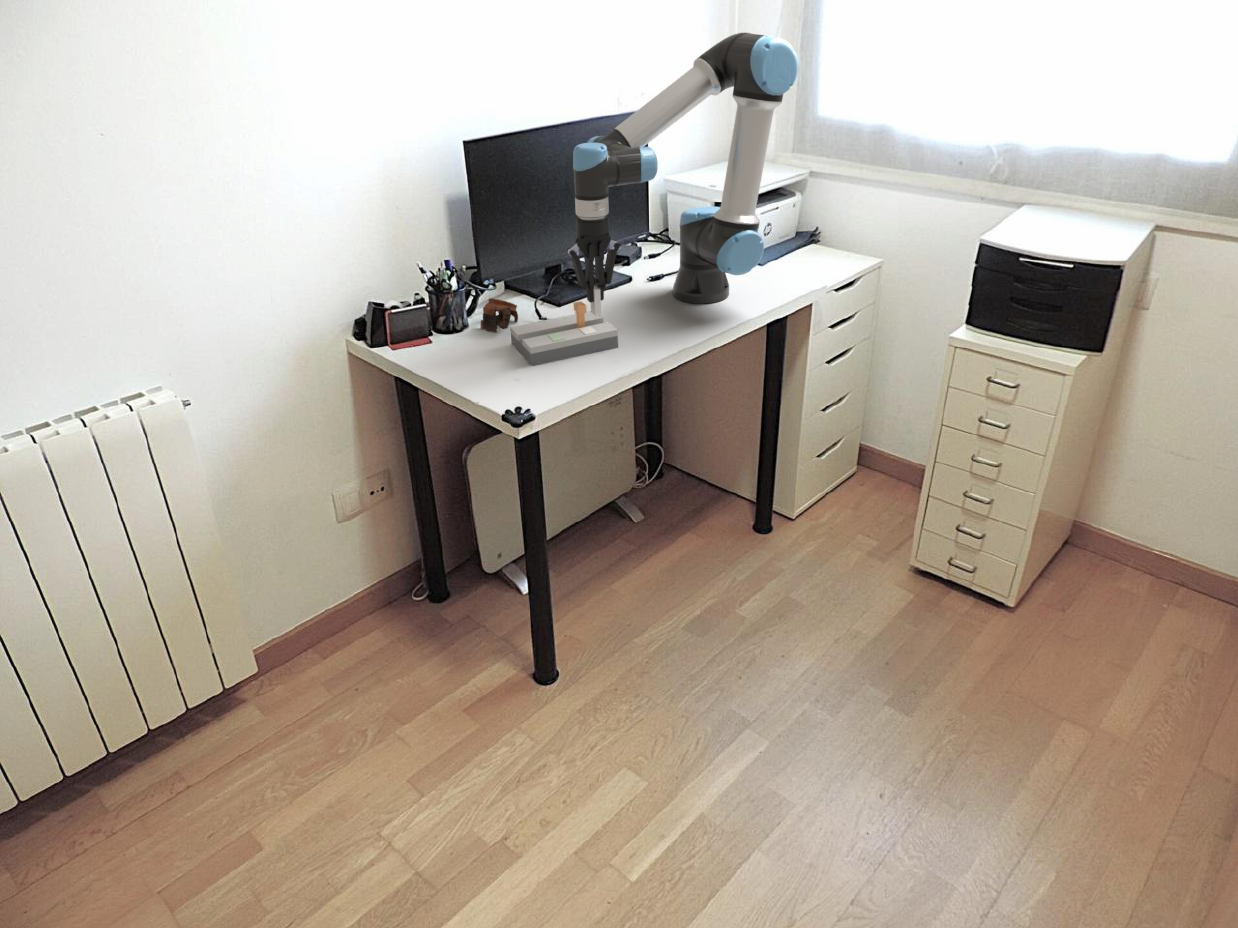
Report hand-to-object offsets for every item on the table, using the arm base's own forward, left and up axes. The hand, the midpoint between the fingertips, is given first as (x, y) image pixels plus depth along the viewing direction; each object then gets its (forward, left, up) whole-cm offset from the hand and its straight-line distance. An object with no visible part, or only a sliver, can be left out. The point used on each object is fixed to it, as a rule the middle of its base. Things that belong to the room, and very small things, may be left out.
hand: (596, 313), depth 215 cm
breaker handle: (+4, 0, -3) cm, 5 cm away
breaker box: (+9, 0, -7) cm, 11 cm away
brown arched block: (+18, -19, -7) cm, 27 cm away
